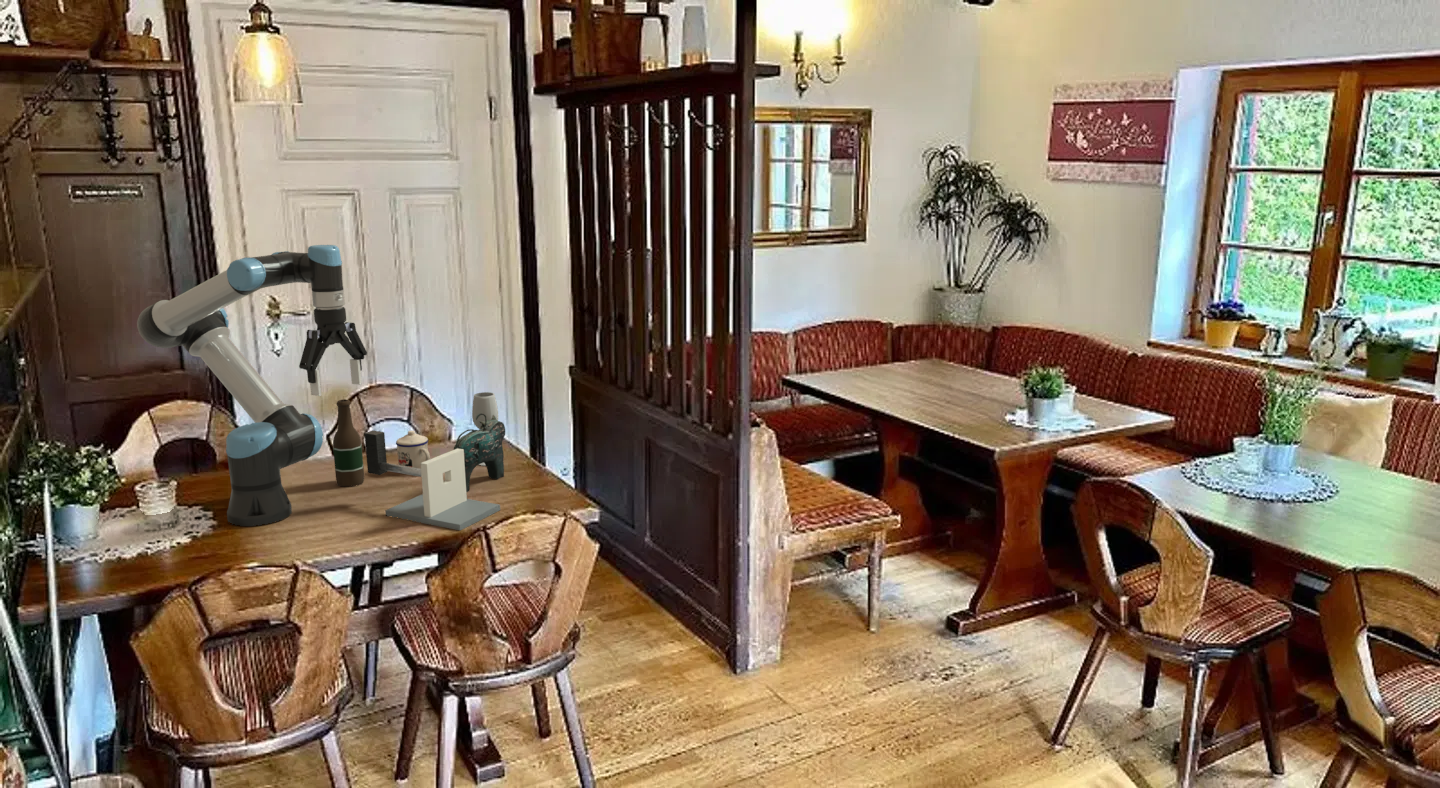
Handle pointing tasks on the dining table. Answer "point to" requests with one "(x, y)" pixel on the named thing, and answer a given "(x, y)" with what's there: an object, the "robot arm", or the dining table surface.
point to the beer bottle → (347, 449)
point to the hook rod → (382, 456)
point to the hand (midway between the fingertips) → (337, 389)
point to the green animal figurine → (483, 448)
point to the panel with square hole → (444, 496)
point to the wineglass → (484, 408)
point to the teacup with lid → (412, 450)
